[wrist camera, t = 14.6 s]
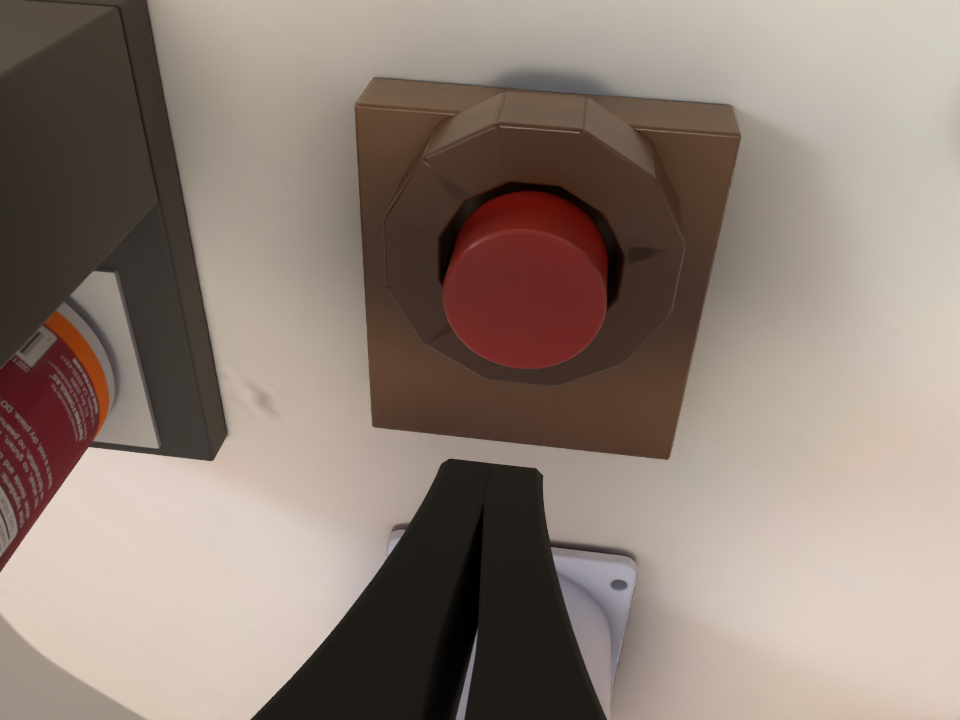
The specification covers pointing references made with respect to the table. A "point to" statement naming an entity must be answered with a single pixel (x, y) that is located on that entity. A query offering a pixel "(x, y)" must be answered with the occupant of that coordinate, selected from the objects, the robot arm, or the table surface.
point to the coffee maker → (102, 217)
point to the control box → (584, 182)
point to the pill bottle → (48, 418)
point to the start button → (527, 280)
